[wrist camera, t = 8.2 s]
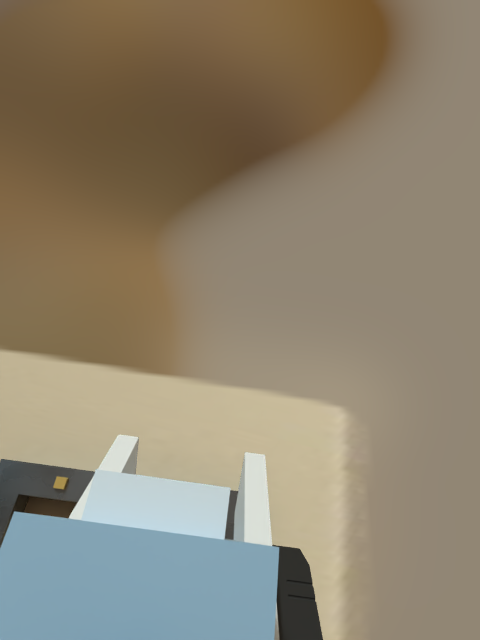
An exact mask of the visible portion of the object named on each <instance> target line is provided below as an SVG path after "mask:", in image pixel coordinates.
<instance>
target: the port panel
mask: <svg viewBox="0 0 480 640" xmlns="http://www.w3.org/2000/svg"><path fill="white" fill-rule="evenodd" d="M94 474H95V472H93V471H86V470H78V469H71V468H64V467H56V466H49V465H42V464H34V463H27V462H20V461H12V460H5V459H1V462H0V548H1V545H2V543H3V540H4V537H5V535H6V532H7V529H8V527H9V524H10V521H11V519H12V516H13V514H14V512H22V513H23V512H24V509H25V506H26V503H27V501H28V498H29V496H30V497H38V498H45V499H52V500H60V501H67V502H75V503H78V501H79V500H80V498H81V496H82V495H83V493H84V491H85V490H86V488H87V486H88V485H89V483H90V481H91V480H92V478H93V476H94ZM237 496H238V491H232V490H230V496H229V504H228V513H227V521H226V530H225V538H224V539H230V540H234V517H235V507H236V502H237Z"/></svg>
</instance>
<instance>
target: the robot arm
mask: <svg viewBox="0 0 480 640" xmlns="http://www.w3.org/2000/svg"><path fill="white" fill-rule="evenodd" d="M138 441H139V437H133V436H125V435H118V436H117V438H116V440H115V441H114V443H113V445H112V446H111V448H110V450H109V451H108V453H107V455H106V456H105V458H104V460H103V461H102V463H101V465H100V466H99V468H98V470H105V471H112V472H120V473H127V474H134V475H136V464H137V452H138ZM93 477H94V476H93ZM92 481H93V478H92V480H91V481H90V483H89V485H88V486H87V488H86V490H85V491H84V493H83V495H82V496H81V498H80V500H79V501H78V503H77V505H76V506H75V508H74V509H73V511H72V513H71V514H70V516H69V518H70V519H78V520H81V518H82V515H83V511H84V508H85V505H86V501H87V498H88V494H89V491H90V488H91V484H92ZM234 540H236V541H243V542H249V543H256V544H262V545H268V546H275V547H279V561H278V580H277V599H276V617H275V636H274V640H323V638H322V632H321V627H320V621H319V616H318V610H317V605H316V602H315V594H314V588H313V586H312V577H311V572H310V566H309V564H308V562H307V560H306V559H305V557H304V555H303V554H302V552H301V550H300V549H298V548H291V547H283V546H276V545H272V538H271V526H270V513H269V500H268V487H267V475H266V462H265V455H262V454H255V453H248V452H245V455H244V461H243V467H242V473H241V478H240V484H239V490H238V496H237V502H236V507H235V517H234Z"/></svg>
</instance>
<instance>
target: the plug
mask: <svg viewBox="0 0 480 640" xmlns="http://www.w3.org/2000/svg"><path fill="white" fill-rule="evenodd" d="M229 496H230V488H228V487H221V486H214V485H207V484H199V483H192V482H185V481H178V480H170V479H163V478H156V477H149V476H141V475H134V474H127V473H120V472H112V471H105V470H98V469H96V471H95V474H94V477H93V481H92V484H91V488H90V491H89V494H88V498H87V501H86V505H85V508H84V511H83V515H82V518H81V520H78V519H70V518H62V517H54V516H46V515H38V514H30V513H22V512H14V514H13V516H12V519H11V521H10V524H9V527H8V529H7V532H6V535H5V537H4V540H3V543H2V545H1V548H0V640H274V636H275V617H276V599H277V580H278V561H279V547H275V546H268V545H262V544H256V543H249V542H243V541H236V540H230V539H224V538H225V530H226V521H227V513H228V504H229Z"/></svg>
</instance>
